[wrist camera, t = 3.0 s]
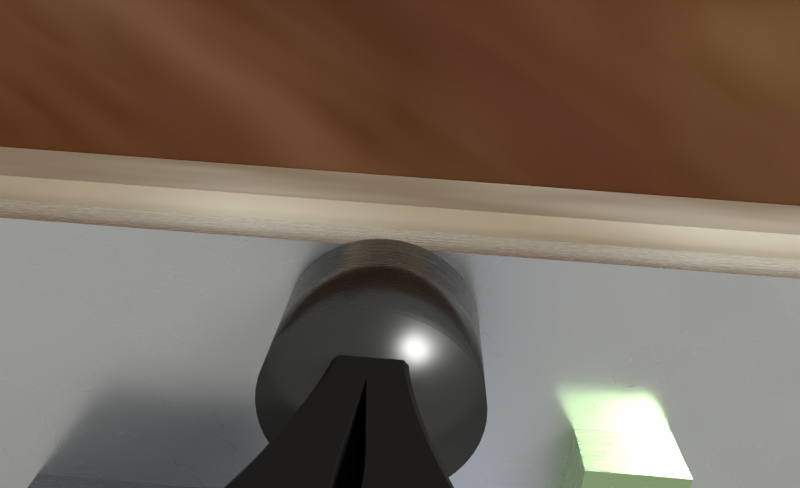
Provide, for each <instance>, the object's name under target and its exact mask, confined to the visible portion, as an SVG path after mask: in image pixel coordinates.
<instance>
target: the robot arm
mask: <svg viewBox="0 0 800 488" xmlns="http://www.w3.org/2000/svg"><path fill="white" fill-rule="evenodd" d="M224 488H454V487H453V485H452V483H451V481H450V479H449V477H448V475H447V474H446V472H445V470H444V468H443V466H442V464H441V461H440V459H439V457H438V455H437V453H436V451H435V449H434V447H433V444H432V442H431V440H430V437H429V435H428V432H427V430H426V427H425V425H424V422H423V420H422V417H421V414H420V411H419V409H418V406H417V402H416V399H415V396H414V392H413V388H412V384H411V379H410V373H409V365H408V364H407V363H406V362H405V361H404V360H398V359H384V358H371V357H359V356H346V355H338V356H336V357H335V358H334V359H332V361H331V363H330V365H329V366H328V368H327V370H326V371H325V373H324V374H323V376H322V377H321V379H320V380H319V382H318V383H317V385H316V386H315V388H314V389H313V390H312V392H311V393H310V395H309V396H308V397H307V399H306V400H305V401H304V402H303V404H302V405H301V406H300V407H299V409H298V410H297V411H296V413H295V414H294V415H293V416H292V418H291V419H290V420H289V421H288V422H287V424H286V425H285V426H284V427H283V428H282V429H281V431H280V432H279V433H278V434H277V435H276V436H275V437H274V438H273V439H272V440H271V442H270V443H269V444H268V445H267V446H266V447H265V448H264V449H263V450H262V451H261V453H260V454H259V455H258V456H257V457H256V458H255V459H254V460H253V461H252V462H251V463H250V464H249V465H248V466H247V467H246V468H245V469H243V470H242V471H241V472H240V473H239V474H238V475H237V476H236V477H235V478H234V479H233V480H232V481H230V482H229V483H228V484H227V485H226V486H225V487H224Z"/></svg>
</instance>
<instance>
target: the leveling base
mask: <svg viewBox="0 0 800 488" xmlns="http://www.w3.org/2000/svg"><path fill="white" fill-rule="evenodd" d="M0 199H7V200H21V201H34V202H47V203H60V204H73V205H86V206H100V207H113V208H126V209H139V210H152V211H166V212H179V213H192V214H205V215H218V216H231V217H245V218H258V219H271V220H284V221H297V222H311V223H324V224H337V225H350V226H363V227H376V228H390V229H403V230H416V231H429V232H442V233H456V234H469V235H482V236H495V237H508V238H521V239H535V240H548V241H561V242H574V243H587V244H601V245H614V246H627V247H640V248H653V249H666V250H680V251H693V252H706V253H719V254H732V255H746V256H759V257H772V258H785V259H798V260H800V206H793V205H779V204H766V203H752V202H739V201H725V200H712V199H698V198H685V197H671V196H658V195H644V194H631V193H617V192H604V191H590V190H577V189H563V188H550V187H536V186H523V185H509V184H496V183H482V182H469V181H455V180H442V179H428V178H415V177H401V176H388V175H374V174H361V173H347V172H334V171H320V170H307V169H293V168H280V167H266V166H253V165H239V164H226V163H212V162H199V161H185V160H172V159H158V158H145V157H131V156H118V155H104V154H90V153H77V152H63V151H50V150H36V149H23V148H9V147H0Z"/></svg>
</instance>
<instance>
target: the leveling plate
mask: <svg viewBox="0 0 800 488" xmlns="http://www.w3.org/2000/svg"><path fill="white" fill-rule="evenodd" d="M338 355H346V356H359V357H371V358H384V359H398V360H404V361H405V362H406V363H407V364H408V365H409V373H410V379H411V384H412V388H413V392H414V396H415V399H416V402H417V406H418V409H419V411H420V414H421V417H422V420H423V422H424V425H425V427H426V430H427V432H428V435H429V437H430V440H431V442H432V444H433V447H434V449H435V451H436V453H437V455H438V457H439V459H440V461H441V464H442V466H443V468H444V470H445V472H446V474H447V475H448V477H449V479H450V481H451V483H452V485H453V487H454V488H800V260H798V259H785V258H772V257H759V256H746V255H732V254H719V253H706V252H693V251H680V250H666V249H653V248H640V247H627V246H614V245H601V244H587V243H574V242H561V241H548V240H535V239H521V238H508V237H495V236H482V235H469V234H456V233H442V232H429V231H416V230H403V229H390V228H376V227H363V226H350V225H337V224H324V223H311V222H297V221H284V220H271V219H258V218H245V217H231V216H218V215H205V214H192V213H179V212H166V211H152V210H139V209H126V208H113V207H100V206H86V205H73V204H60V203H47V202H34V201H21V200H7V199H0V488H224V487H225V486H226V485H227V484H228V483H229V482H230V481H232V480H233V479H234V478H235V477H236V476H237V475H238V474H239V473H240V472H241V471H242V470H243V469H245V468H246V467H247V466H248V465H249V464H250V463H251V462H252V461H253V460H254V459H255V458H256V457H257V456H258V455H259V454H260V453H261V451H262V450H263V449H264V448H265V447H266V446H267V445H268V444H269V443H270V442H271V440H272V439H273V438H274V437H275V436H276V435H277V434H278V433H279V432H280V431H281V429H282V428H283V427H284V426H285V425H286V424H287V422H288V421H289V420H290V419H291V418H292V416H293V415H294V414H295V413H296V411H297V410H298V409H299V407H300V406H301V405H302V404H303V402H304V401H305V400H306V399H307V397H308V396H309V395H310V393H311V392H312V390H313V389H314V388H315V386H316V385H317V383H318V382H319V380H320V379H321V377H322V376H323V374H324V373H325V371H326V370H327V368H328V366H329V365H330V363H331V361H332V359H334V358H335V357H336V356H338Z"/></svg>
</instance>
